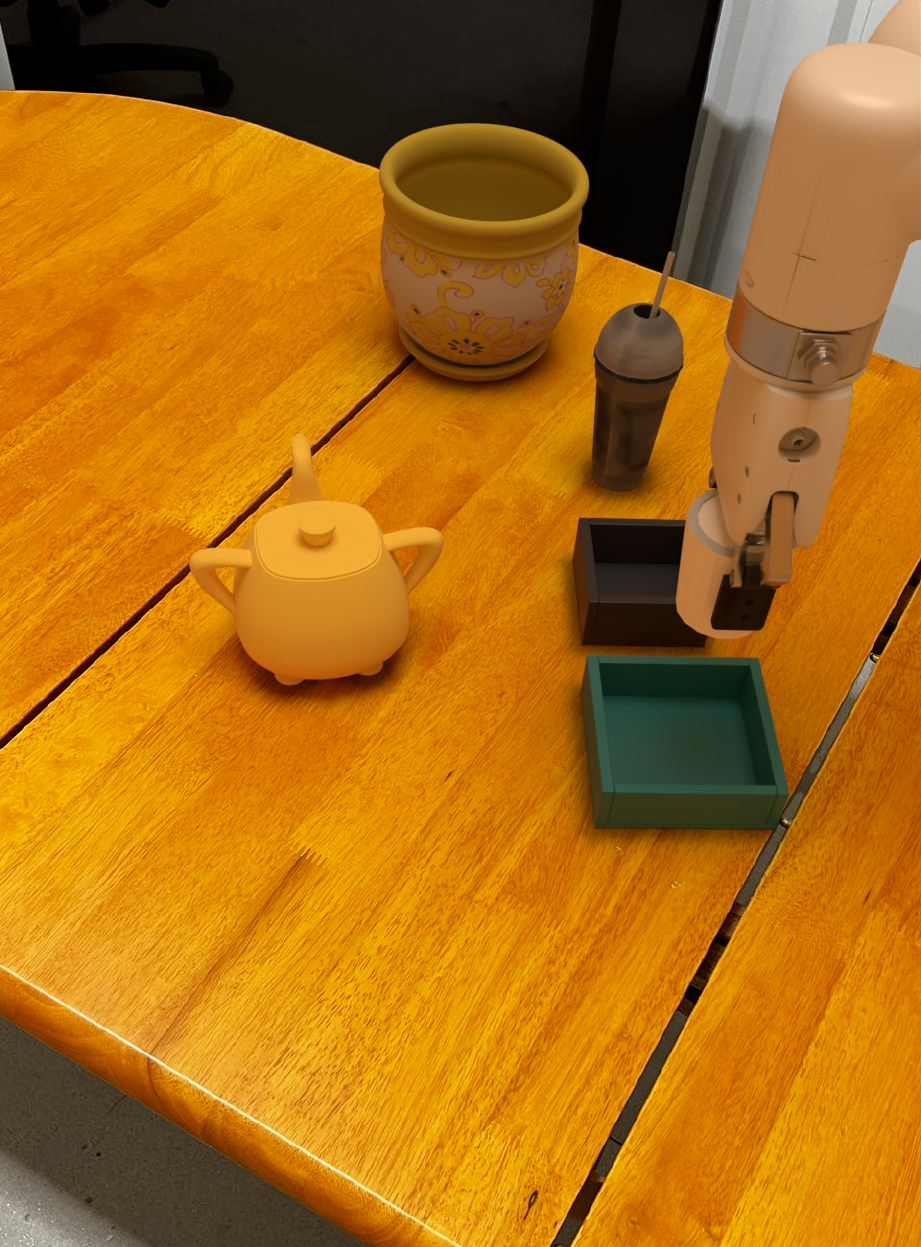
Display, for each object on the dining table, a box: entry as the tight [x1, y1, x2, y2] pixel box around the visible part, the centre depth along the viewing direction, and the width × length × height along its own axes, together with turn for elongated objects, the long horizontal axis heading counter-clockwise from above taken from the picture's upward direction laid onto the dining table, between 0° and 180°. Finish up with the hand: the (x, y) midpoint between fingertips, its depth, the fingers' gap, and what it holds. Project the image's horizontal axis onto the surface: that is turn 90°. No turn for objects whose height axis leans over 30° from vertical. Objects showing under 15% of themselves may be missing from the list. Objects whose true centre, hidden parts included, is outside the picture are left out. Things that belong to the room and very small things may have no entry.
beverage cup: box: [591, 251, 685, 492], centre depth 102 cm, size 7×7×20 cm
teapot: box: [188, 433, 445, 686], centre depth 92 cm, size 14×14×12 cm
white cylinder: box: [676, 488, 797, 640], centre depth 78 cm, size 7×7×7 cm
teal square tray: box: [579, 654, 790, 830], centre depth 89 cm, size 13×13×4 cm
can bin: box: [571, 517, 708, 648], centre depth 98 cm, size 10×10×4 cm
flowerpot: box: [378, 122, 590, 383], centre depth 114 cm, size 18×18×16 cm
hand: (727, 582), depth 79 cm, fingers closed on white cylinder, 6 cm apart
